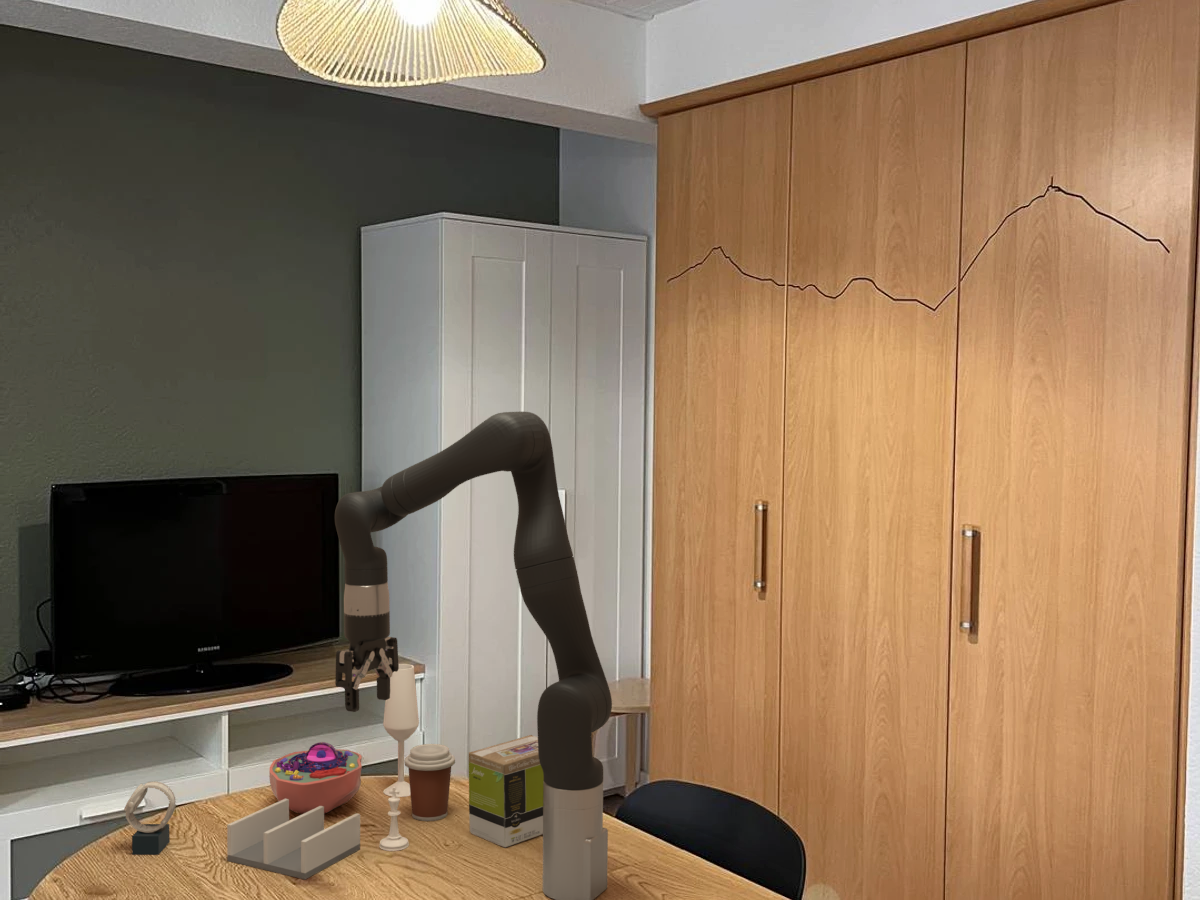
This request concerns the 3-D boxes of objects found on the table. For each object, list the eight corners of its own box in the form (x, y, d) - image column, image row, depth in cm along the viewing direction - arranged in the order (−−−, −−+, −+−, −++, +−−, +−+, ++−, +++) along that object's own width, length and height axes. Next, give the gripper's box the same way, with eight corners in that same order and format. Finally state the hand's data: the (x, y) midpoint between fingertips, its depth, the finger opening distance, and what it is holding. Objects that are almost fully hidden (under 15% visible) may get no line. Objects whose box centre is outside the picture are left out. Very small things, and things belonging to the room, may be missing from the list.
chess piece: (402, 852, 203) (402, 793, 202) (374, 849, 204) (374, 791, 203) (413, 841, 208) (413, 783, 207) (385, 839, 209) (385, 781, 208)
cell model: (248, 824, 215) (248, 761, 214) (296, 787, 234) (296, 729, 234) (339, 831, 212) (339, 767, 211) (380, 793, 231) (380, 735, 231)
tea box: (531, 812, 222) (532, 732, 222) (569, 827, 215) (570, 744, 214) (466, 833, 212) (467, 749, 211) (504, 849, 205) (505, 763, 204)
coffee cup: (398, 809, 223) (399, 744, 222) (447, 803, 227) (447, 739, 226) (411, 826, 215) (411, 759, 214) (461, 819, 218) (461, 753, 217)
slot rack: (360, 849, 204) (360, 814, 204) (305, 879, 191) (304, 842, 191) (285, 832, 211) (285, 798, 211) (227, 860, 199) (227, 824, 198)
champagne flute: (402, 799, 228) (402, 672, 227) (375, 792, 232) (375, 667, 231) (426, 789, 234) (426, 665, 233) (399, 782, 238) (399, 661, 236)
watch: (132, 842, 206) (131, 778, 205) (180, 842, 206) (179, 778, 206) (119, 855, 200) (119, 789, 200) (169, 855, 201) (168, 789, 200)
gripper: (358, 618, 197) (360, 717, 197) (409, 604, 209) (411, 697, 210) (321, 615, 200) (323, 712, 201) (374, 601, 213) (375, 693, 213)
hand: (368, 705), depth 205 cm, fingers open, 8 cm apart
